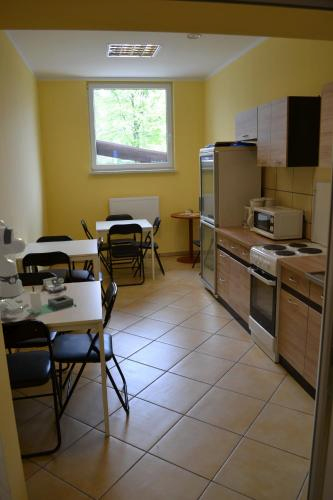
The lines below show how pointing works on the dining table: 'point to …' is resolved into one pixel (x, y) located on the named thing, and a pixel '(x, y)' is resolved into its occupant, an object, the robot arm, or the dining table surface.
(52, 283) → the grey mechanical device
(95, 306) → the dining table surface
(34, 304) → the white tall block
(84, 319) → the dining table surface
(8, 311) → the robot arm
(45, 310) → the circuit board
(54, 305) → the grey square tray
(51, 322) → the dining table surface
